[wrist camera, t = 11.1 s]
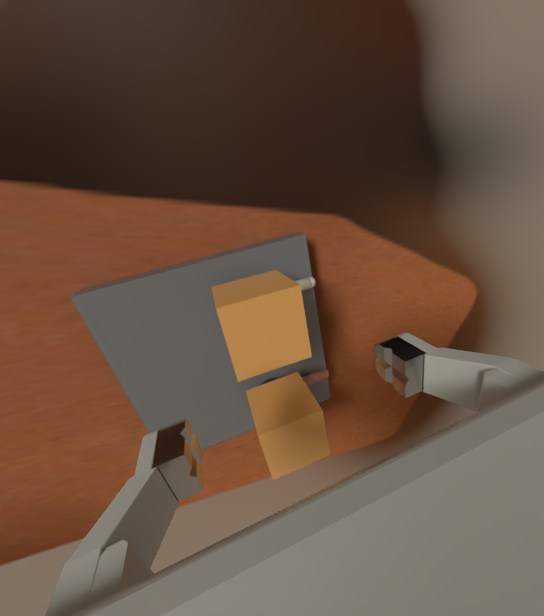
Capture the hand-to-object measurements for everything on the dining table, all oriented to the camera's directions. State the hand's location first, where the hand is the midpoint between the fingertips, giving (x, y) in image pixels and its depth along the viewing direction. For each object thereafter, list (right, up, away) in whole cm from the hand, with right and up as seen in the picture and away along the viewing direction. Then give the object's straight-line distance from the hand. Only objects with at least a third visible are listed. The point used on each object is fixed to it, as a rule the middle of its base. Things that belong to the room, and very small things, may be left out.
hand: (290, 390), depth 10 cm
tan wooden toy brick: (-2, +3, +9) cm, 10 cm away
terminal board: (-5, -1, +14) cm, 15 cm away
